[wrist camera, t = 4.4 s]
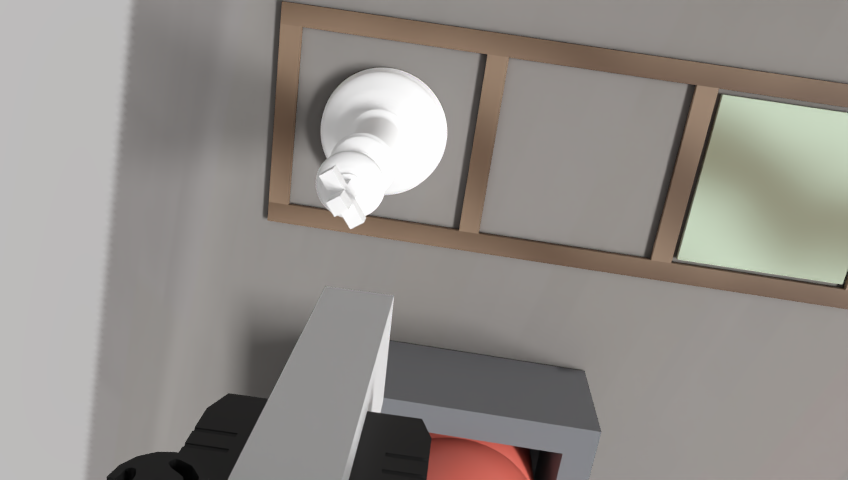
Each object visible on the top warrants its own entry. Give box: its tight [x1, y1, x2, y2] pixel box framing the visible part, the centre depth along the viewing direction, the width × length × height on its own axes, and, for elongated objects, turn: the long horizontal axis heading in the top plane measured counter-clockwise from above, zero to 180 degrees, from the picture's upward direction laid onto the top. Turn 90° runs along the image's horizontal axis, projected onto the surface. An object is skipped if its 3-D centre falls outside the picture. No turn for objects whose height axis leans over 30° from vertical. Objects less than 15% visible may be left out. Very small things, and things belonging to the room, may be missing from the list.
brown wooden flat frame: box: [268, 1, 848, 309], centre depth 28 cm, size 9×24×1 cm, turn 82°
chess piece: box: [316, 68, 447, 229], centre depth 24 cm, size 5×5×10 cm
